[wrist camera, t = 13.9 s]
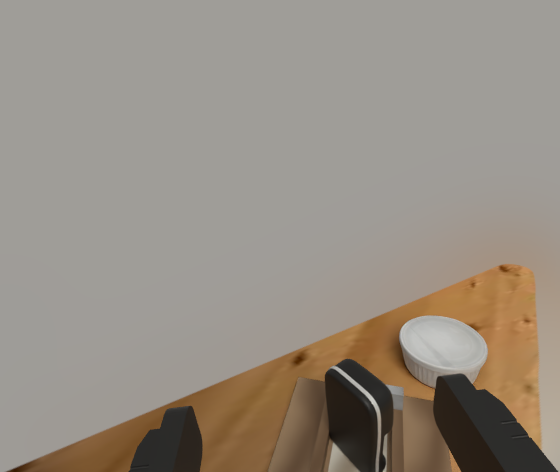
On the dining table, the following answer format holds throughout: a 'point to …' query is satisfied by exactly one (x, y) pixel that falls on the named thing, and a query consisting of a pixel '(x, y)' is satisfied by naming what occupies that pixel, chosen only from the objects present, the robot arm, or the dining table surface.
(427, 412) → the rail board
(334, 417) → the battery charger
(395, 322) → the dining table surface
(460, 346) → the ramekin
